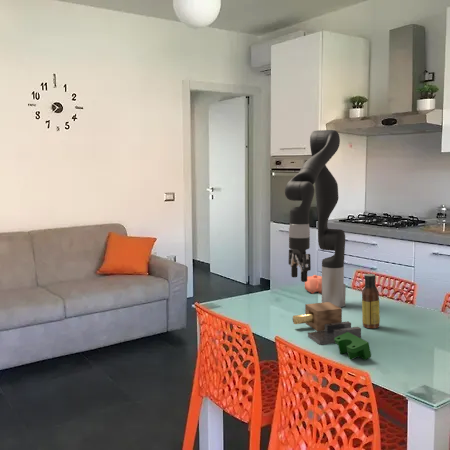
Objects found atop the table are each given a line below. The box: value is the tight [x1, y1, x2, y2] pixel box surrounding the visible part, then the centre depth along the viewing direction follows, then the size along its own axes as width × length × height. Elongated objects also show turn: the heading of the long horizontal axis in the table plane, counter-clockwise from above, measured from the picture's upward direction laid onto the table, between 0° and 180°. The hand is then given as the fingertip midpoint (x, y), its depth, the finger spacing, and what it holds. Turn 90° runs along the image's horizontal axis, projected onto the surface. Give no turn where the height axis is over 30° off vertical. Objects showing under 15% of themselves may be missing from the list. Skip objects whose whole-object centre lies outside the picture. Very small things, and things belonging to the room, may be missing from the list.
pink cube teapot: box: [304, 274, 322, 295], centre depth 249 cm, size 8×12×8 cm, turn 13°
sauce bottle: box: [361, 273, 381, 330], centre depth 194 cm, size 7×6×20 cm
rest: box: [307, 321, 362, 346], centre depth 183 cm, size 16×9×4 cm, turn 107°
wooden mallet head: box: [304, 302, 343, 332], centre depth 196 cm, size 10×10×8 cm
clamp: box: [334, 332, 372, 361], centre depth 166 cm, size 12×6×9 cm, turn 14°
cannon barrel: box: [292, 313, 314, 325], centre depth 195 cm, size 16×3×3 cm, turn 107°
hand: (299, 279), depth 193 cm, fingers open, 8 cm apart
